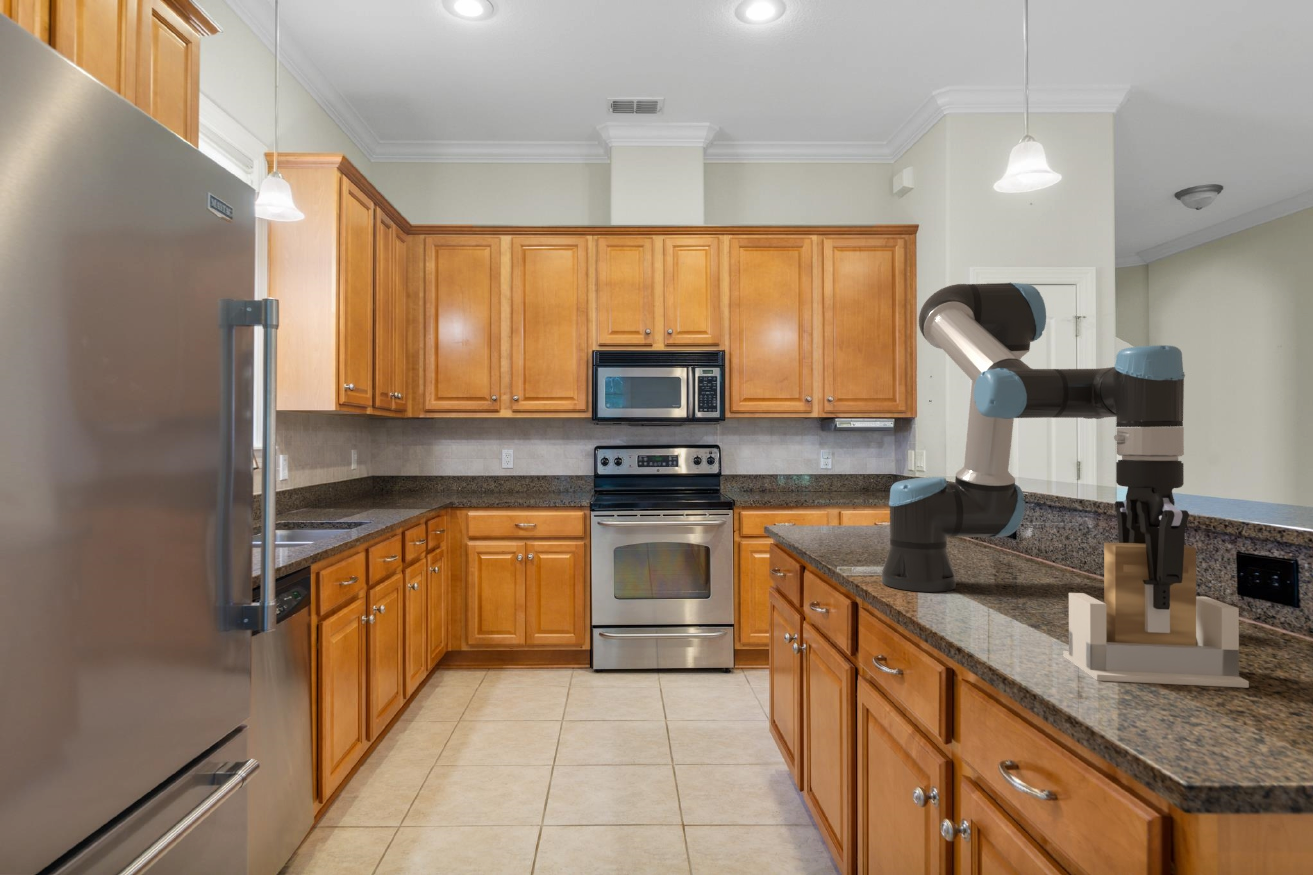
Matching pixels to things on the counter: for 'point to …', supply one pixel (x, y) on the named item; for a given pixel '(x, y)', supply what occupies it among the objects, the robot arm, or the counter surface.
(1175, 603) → the door panel
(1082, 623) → the door track
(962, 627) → the counter surface
